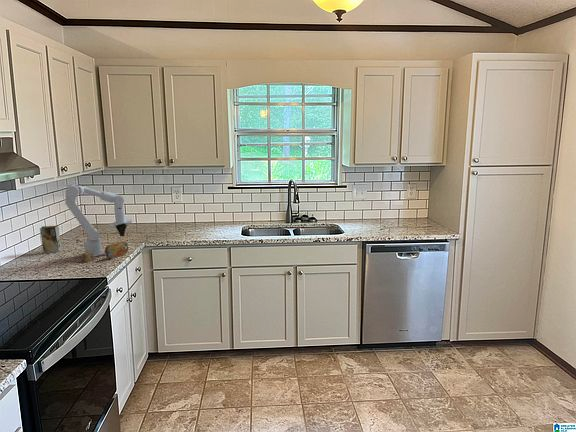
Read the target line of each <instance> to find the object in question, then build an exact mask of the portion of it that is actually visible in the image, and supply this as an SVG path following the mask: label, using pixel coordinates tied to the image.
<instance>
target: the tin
mask: <svg viewBox="0 0 576 432" xmlns="http://www.w3.org/2000/svg"><path fill="white" fill-rule="evenodd" d="M128 245H129V244H128V243H127V242H126V241H118V242H114V243H111V244H108V245H106V247H105V249H104V253H105V254H104V255H105V257H106V258H108V259H110V260H113V259H117V258H119V257H123V256H126V255H127V253H128V250H129V246H128Z"/></svg>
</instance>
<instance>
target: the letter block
mask: <svg viewBox="0 0 576 432" xmlns="http://www.w3.org/2000/svg"><path fill="white" fill-rule="evenodd" d="M80 255H81V262H82V263H83V262H84V263H89V262H93V261H95V260H94V259H95V258H94V257H93V253H91V252H87V253H85V252H83V253H81V254H80Z"/></svg>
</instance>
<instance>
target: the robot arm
mask: <svg viewBox="0 0 576 432" xmlns="http://www.w3.org/2000/svg"><path fill="white" fill-rule="evenodd" d="M85 194H86V195H90V196H94V197H98V198H99V199H100V201H104V202H108V203H111V204H114V209H113V210H114V218H115V219H114V220H115V221H114V222H110V223H109V228H114V227H115V228H116V230H117V231H118V234H119V236H120V237H125V232H126V229H127V226H128V224H132V222H133V221H132V219H130V218H129V219H126V212H125V206H124V205H125V198H124V197H123V196H122V195H120V194H117V192H116V193H113V192H110V191H109V190H103V191H99V190H96V189H93V188H89V187H87V186H83V185H76V184H75V183H72V184H69V185H68V186H67V188H66V190H65V205H66V207H67V208H68V209H69V211H70V212H71V213H72V215H73V216H74V217H75V219H76V220H77V222H78V223H79V224H80V226H81V227H82V229H83V230H84V232H85V233H86V235H87V240H85V242H84V251H85V252H84V253H87V252H91V253H93V257H98V256H101V255H105V252H102V243H101V238H100V233H99V231H98V229H96V228H95V227H94V226H93V225H92V224H91V223H90V221H89V220H88V219H87V217H86V216H85V214H84V213H83V212H82V210H81V209H80V207H79V206H78V204H76V199H77V197H78V196H79V195H81V196H82V195H85Z"/></svg>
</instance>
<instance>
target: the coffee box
mask: <svg viewBox="0 0 576 432" xmlns="http://www.w3.org/2000/svg"><path fill="white" fill-rule="evenodd" d="M39 233H40V239H41V244H42V250H43V251H42V252H43V254H48V253H49V254H50V253H59V252H61V251H62V244H61V242H62V241H61V237H60V230H59V225H48V226H47V225H45V226H44V225H43V226H41V227H40V228H39Z"/></svg>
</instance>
